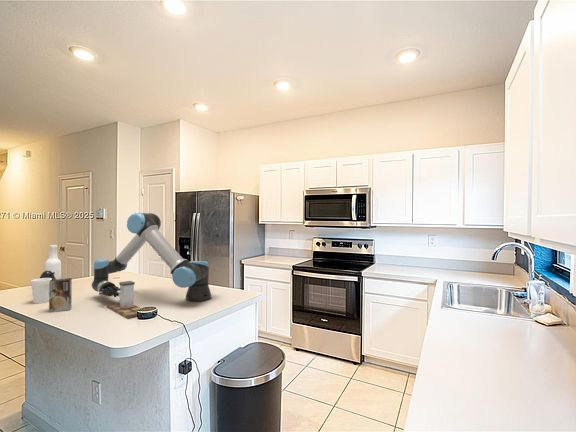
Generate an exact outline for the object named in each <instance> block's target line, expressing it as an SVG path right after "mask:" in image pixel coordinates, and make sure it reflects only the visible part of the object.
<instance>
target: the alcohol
mask: <svg viewBox="0 0 576 432" xmlns="http://www.w3.org/2000/svg"><path fill="white" fill-rule="evenodd" d="M44 271H51V272H52V273H53V272H55V274H54V276H55V278H56V279H62V261H61V260H60V259H59V256H58V245H57V244H50V245H49V254H48V258H47V259H46V261H45V263H44Z"/></svg>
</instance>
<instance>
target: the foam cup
mask: <svg viewBox="0 0 576 432" xmlns="http://www.w3.org/2000/svg"><path fill="white" fill-rule="evenodd" d="M50 280H52V278H40V277H39V278H34V279H31V280H30V285H31V291H32V297H33V299H32V300H33V303H34V304H35V305H36V304H37V305H38V304H39V305H40V304H46V303H49V282H50Z"/></svg>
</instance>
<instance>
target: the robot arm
mask: <svg viewBox="0 0 576 432" xmlns="http://www.w3.org/2000/svg"><path fill="white" fill-rule="evenodd" d="M161 223H162V221H161V219H160V217H159V216H158V215H157V214H155V213H152V212H151V213H149V212H147V213H146V212H145V213H144V212H135V213H132V214H130V215H129V217H128V218H127V221H126V228H127V229H128V232H130V233H132V234H135V235H134V237H132V238H131V240H130V241H128V243H127V244H126V246H125V247H124V248H123V249H122V250H121V251H120V252H119V254H117V256H116V257H115V258H114V259H113V260H109V259H107V258H106V259H105V258H104V259H103V258H102V259H100V258H99V259H96V260H94V263H93V280H92V282H91V287H92V289H93V290H94V291H95V292H98V295H101V296H102V295H103V296H107V297H113V298H117V297H119V298H120V286H116V284H115V283H113V282H111V281H109V275H110V274H114V273H119V272H123V271H124V270H126V269H127V266H128V263H129V261H130V260H131V259H132V258H133V257H134V256H135V255H136V254H137V253H138V251H140V250H141V248H142V247H143V246H144V245H145V244H146V242H147V243H148V244H149V246H150V247H151V248H152V249H153V250H154V251H155V252H156V253H157V255H158V256H159V257H160V258H161V260H163V262H164V263H165V264H166V265H167V266H168V268H170V274H171V275H172V276H171V278H172V282H173V283H174V284H175V286H177V287H178V288H182V289H183V288H187V290H186V293H185V300H186V301H187V302H195V303H196V302H205V301H209V300H211V299H212V293H211V289H210V287H209V281H210V280H209V278H210V276H209V275H210V272H209V271H210V264H209V262H208V261H205V260H204V261H203V260H202V261H200V260H190V261H189V260H188V259H186V258H183V257H182V256H181V255H180V253H179V252H178V251H177V250H176V249H175V248H174V247H173V246H172V244H171V243H170V242H169V240H167V239H166V238H165V237H164V236H163V234H162V233H161V232H160V228H161Z"/></svg>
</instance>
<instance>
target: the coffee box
mask: <svg viewBox="0 0 576 432" xmlns="http://www.w3.org/2000/svg"><path fill="white" fill-rule="evenodd" d="M72 279H73V278H69V277H67V278H61V279H52V280H50V282H49V299H48V313H55V312H56V313H57V312H63V311H70V310H71V309H72V298H73V297H72V294H73V293H72V292H73V291H72V287H73V286H72V285H73V284H72V283H73V281H72Z"/></svg>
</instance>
